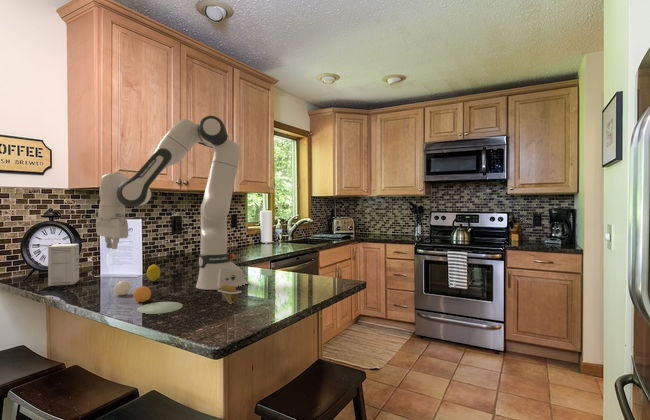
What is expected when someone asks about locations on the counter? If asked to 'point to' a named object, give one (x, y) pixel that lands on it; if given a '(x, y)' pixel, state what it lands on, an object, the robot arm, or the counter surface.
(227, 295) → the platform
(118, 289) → the cue ball
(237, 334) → the counter surface
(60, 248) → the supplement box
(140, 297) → the object ball
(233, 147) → the robot arm
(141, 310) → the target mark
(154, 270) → the lemon
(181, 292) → the counter surface
